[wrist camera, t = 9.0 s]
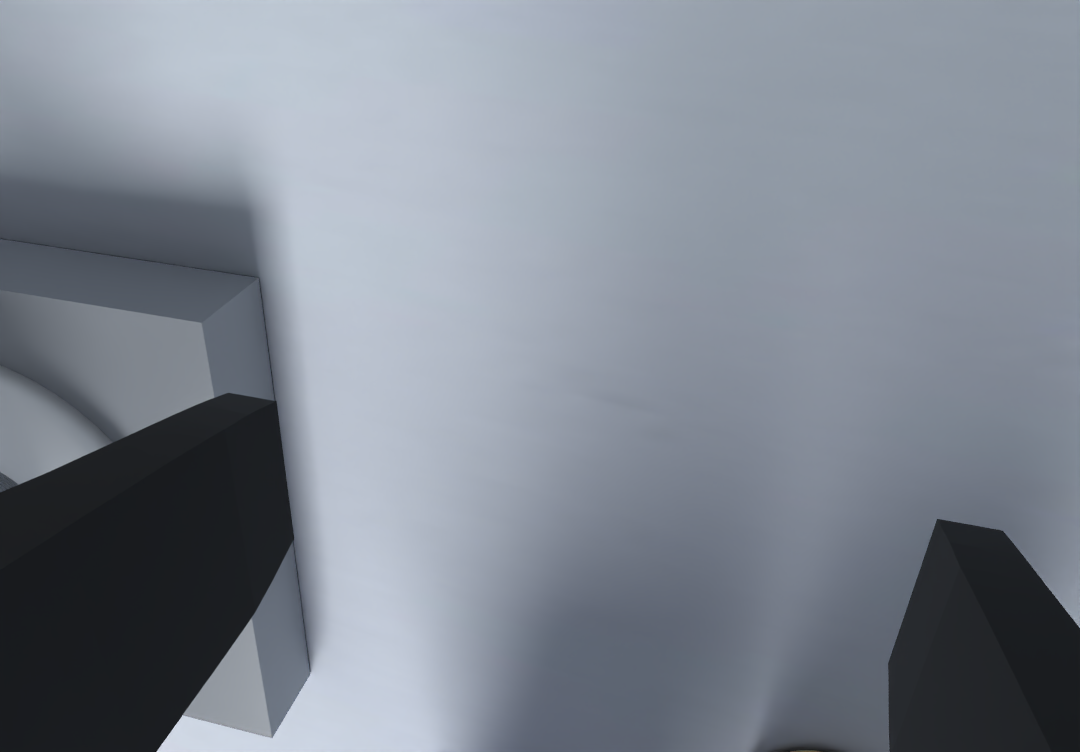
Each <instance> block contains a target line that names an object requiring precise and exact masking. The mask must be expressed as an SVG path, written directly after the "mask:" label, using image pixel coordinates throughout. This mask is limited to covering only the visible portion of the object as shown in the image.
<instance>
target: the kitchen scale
mask: <svg viewBox="0 0 1080 752" xmlns="http://www.w3.org/2000/svg"><path fill="white" fill-rule="evenodd" d="M226 393H233V394H239V395H245V396H250V397H256V398H261V399H267V400H273V401H275V400H274V392H273V384H272V376H271V369H270V361H269V353H268V346H267V338H266V330H265V323H264V315H263V307H262V299H261V292H260V284H259V278H256V277H249V276H243V275H236V274H229V273H223V272H216V271H209V270H203V269H196V268H190V267H183V266H176V265H170V264H163V263H156V262H150V261H143V260H137V259H130V258H123V257H117V256H110V255H103V254H97V253H90V252H84V251H77V250H70V249H64V248H57V247H50V246H44V245H37V244H31V243H24V242H17V241H11V240H4V239H0V472H1V473H3V474H4V475H6V476H7V477H9V478H10V479H12V480H13V481H14V482H16V483H17V484H18V485H19V484H21V483H24V482H26V481H29V480H31V479H33V478H36V477H38V476H40V475H43V474H45V473H47V472H50V471H52V470H54V469H56V468H58V467H61V466H63V465H65V464H67V463H69V462H72V461H74V460H76V459H78V458H80V457H82V456H85V455H87V454H89V453H91V452H93V451H96V450H98V449H100V448H102V447H104V446H107V445H109V444H111V443H113V442H115V441H117V440H120V439H122V438H124V437H126V436H128V435H130V434H133V433H135V432H137V431H139V430H141V429H143V428H146V427H148V426H150V425H152V424H154V423H157V422H159V421H161V420H163V419H165V418H168V417H170V416H172V415H174V414H177V413H179V412H181V411H183V410H186V409H188V408H190V407H193V406H195V405H197V404H200V403H202V402H205V401H207V400H210V399H212V398H215V397H218V396H221V395H223V394H226ZM309 675H310V669H309V662H308V654H307V646H306V639H305V631H304V623H303V615H302V608H301V600H300V592H299V585H298V577H297V569H296V561H295V554H294V546H293V542H292V544H291V546H290V548H289V550H288V552H287V554H286V556H285V558H284V559H283V561H282V563H281V565H280V567H279V569H278V571H277V573H276V575H275V577H274V579H273V581H272V583H271V585H270V587H269V588H268V590H267V592H266V594H265V596H264V597H263V599H262V601H261V603H260V605H259V607H258V608H257V610H256V612H255V614H254V615H253V617H252V618H251V619H250V621H249V622H248V624H247V625H246V627H245V628H244V630H243V631H242V633H241V634H240V635H239V637H238V638H237V640H236V641H235V642H234V644H233V645H232V647H231V648H230V650H229V651H228V652H227V654H226V655H225V657H224V658H223V659H222V661H221V662H220V664H219V665H218V667H217V668H216V669H215V671H214V672H213V674H212V675H211V676H210V678H209V679H208V681H207V682H206V683H205V685H204V686H203V687H202V689H201V690H200V692H199V693H198V694H197V696H196V697H195V699H194V700H193V701H192V703H191V704H190V706H189V707H188V708H187V710H186V711H185V712H184V714H183V715H184V716H188V717H192V718H195V719H199V720H203V721H207V722H211V723H215V724H219V725H223V726H227V727H231V728H235V729H238V730H242V731H246V732H250V733H254V734H258V735H262V736H266V737H270V738H272V737H273V736H274V734H275V732H276V731H277V729H278V727H279V726H280V724H281V722H282V721H283V719H284V717H285V716H286V714H287V712H288V711H289V709H290V707H291V706H292V704H293V702H294V701H295V699H296V697H297V696H298V694H299V692H300V691H301V689H302V687H303V686H304V684H305V682H306V681H307V679H308V677H309Z"/></svg>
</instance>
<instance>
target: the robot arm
mask: <svg viewBox="0 0 1080 752" xmlns="http://www.w3.org/2000/svg"><path fill="white" fill-rule="evenodd" d="M293 540H294V535H293V528H292V520H291V512H290V504H289V497H288V489H287V481H286V473H285V466H284V458H283V450H282V442H281V434H280V427H279V419H278V411H277V403H276V401H273V400H267V399H261V398H256V397H250V396H245V395H239V394H233V393H226V394H223V395H221V396H218V397H215V398H212V399H210V400H207V401H205V402H202V403H200V404H197V405H195V406H193V407H190V408H188V409H186V410H183V411H181V412H179V413H177V414H174V415H172V416H170V417H168V418H165V419H163V420H161V421H159V422H157V423H154V424H152V425H150V426H148V427H146V428H143V429H141V430H139V431H137V432H135V433H133V434H130V435H128V436H126V437H124V438H122V439H120V440H117V441H115V442H113V443H111V444H109V445H107V446H104V447H102V448H100V449H98V450H96V451H93V452H91V453H89V454H87V455H85V456H82V457H80V458H78V459H76V460H74V461H72V462H69V463H67V464H65V465H63V466H61V467H58V468H56V469H54V470H52V471H50V472H47V473H45V474H43V475H40V476H38V477H36V478H33V479H31V480H29V481H26V482H24V483H21V484H19V485H17V486H14V487H12V488H10V489H7V490H5V491H2V492H0V752H156V751H157V750H158V749H159V747H160V746H161V744H162V743H163V742H164V740H165V739H166V737H167V736H168V735H169V733H170V732H171V731H172V729H173V728H174V726H175V725H176V724H177V722H178V721H179V719H180V718H181V717H182V715H183V714H184V712H185V711H186V710H187V708H188V707H189V706H190V704H191V703H192V701H193V700H194V699H195V697H196V696H197V694H198V693H199V692H200V690H201V689H202V687H203V686H204V685H205V683H206V682H207V681H208V679H209V678H210V676H211V675H212V674H213V672H214V671H215V669H216V668H217V667H218V665H219V664H220V662H221V661H222V659H223V658H224V657H225V655H226V654H227V652H228V651H229V650H230V648H231V647H232V645H233V644H234V642H235V641H236V640H237V638H238V637H239V635H240V634H241V633H242V631H243V630H244V628H245V627H246V625H247V624H248V622H249V621H250V619H251V618H252V617H253V615H254V614H255V612H256V610H257V608H258V607H259V605H260V603H261V601H262V599H263V597H264V596H265V594H266V592H267V590H268V588H269V587H270V585H271V583H272V581H273V579H274V577H275V575H276V573H277V571H278V569H279V567H280V565H281V563H282V561H283V559H284V558H285V556H286V554H287V552H288V550H289V548H290V546H291V544H292V542H293ZM888 669H889V741H890V752H1080V628H1079V627H1078V625H1077V624H1076V623H1075V622H1074V620H1073V619H1072V618H1071V617H1070V615H1069V614H1068V613H1067V611H1066V610H1065V609H1064V608H1063V606H1062V605H1061V604H1060V603H1059V601H1058V600H1057V599H1056V598H1055V596H1054V595H1053V594H1052V592H1051V591H1050V590H1049V589H1048V587H1047V586H1046V585H1045V583H1044V582H1043V581H1042V580H1041V578H1040V577H1039V576H1038V574H1037V573H1036V572H1035V571H1034V569H1033V568H1032V567H1031V565H1030V564H1029V563H1028V562H1027V560H1026V559H1025V558H1024V556H1023V555H1022V554H1021V553H1020V551H1019V550H1018V549H1017V548H1016V546H1015V545H1014V544H1013V543H1012V541H1011V540H1010V539H1009V538H1008V537H1007V535H1006V534H1005V533H1004V532H1003V531H1001V530H996V529H990V528H984V527H979V526H973V525H968V524H962V523H956V522H951V521H945V520H940V519H937V521H936V524H935V527H934V530H933V533H932V536H931V539H930V542H929V545H928V548H927V551H926V554H925V557H924V560H923V563H922V566H921V569H920V572H919V575H918V577H917V580H916V583H915V586H914V589H913V592H912V595H911V598H910V601H909V604H908V607H907V610H906V613H905V616H904V619H903V622H902V625H901V628H900V631H899V634H898V636H897V639H896V642H895V645H894V648H893V651H892V654H891V657H890V660H889V663H888Z"/></svg>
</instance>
